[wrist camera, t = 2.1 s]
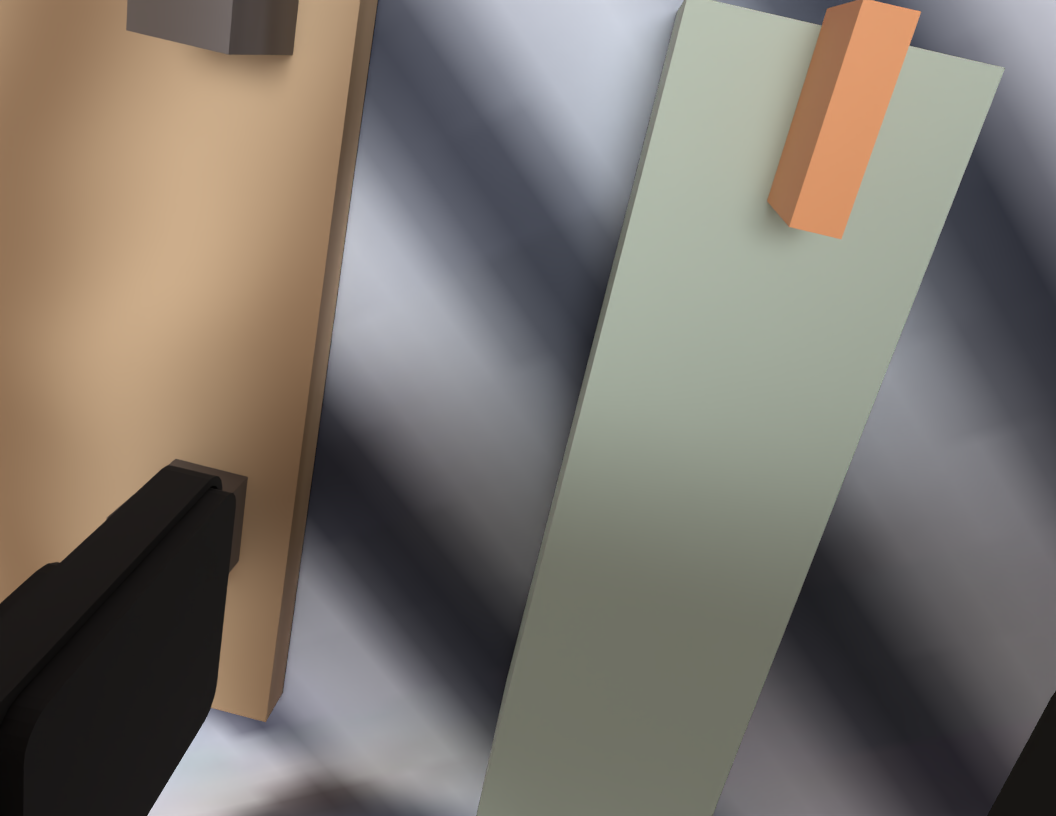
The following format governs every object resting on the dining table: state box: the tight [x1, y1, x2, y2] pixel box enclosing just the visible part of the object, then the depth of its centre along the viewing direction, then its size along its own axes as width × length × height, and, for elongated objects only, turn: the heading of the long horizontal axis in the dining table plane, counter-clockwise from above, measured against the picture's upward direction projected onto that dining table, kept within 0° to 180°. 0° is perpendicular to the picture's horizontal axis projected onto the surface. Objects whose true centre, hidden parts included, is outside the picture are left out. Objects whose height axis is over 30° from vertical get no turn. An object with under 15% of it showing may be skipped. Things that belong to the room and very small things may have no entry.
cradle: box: [0, 0, 378, 722], centre depth 16 cm, size 11×20×4 cm, turn 168°
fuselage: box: [476, 0, 1005, 816], centre depth 15 cm, size 4×16×6 cm, turn 168°
